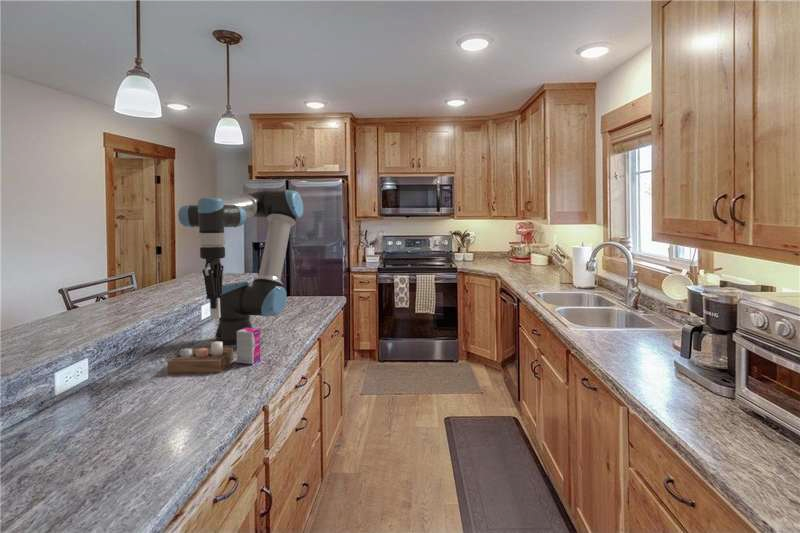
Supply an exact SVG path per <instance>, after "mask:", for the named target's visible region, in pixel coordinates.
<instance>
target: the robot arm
mask: <svg viewBox="0 0 800 533" xmlns="http://www.w3.org/2000/svg"><path fill="white" fill-rule="evenodd" d="M177 215H178V222H179V223H180V224H181V225H182V226H183V227H185V228H187V227H190V228H199V230H198V234H199V235H198V236H197V238H198V240H199V245H200V246H201V247H200V248H199V256H200V257H199V258H200V259H203V260H205V265H204V269H202V274H203V278H204V286H205V292H206V300H207V299H208V300H209V310H210V319H218V324H217V328H216V332H215V335H214V339H215V340H214V342H216V341H221V342H223V345H237V331H239V330H241V329H243V328H254V326H253V325H252V322H251V316H259V317H266V318H268V317H276V316H279V315H280V314H281V313H282V312H283V311H284V309H285V308H286V304H287V302H288V301H287V300H288V297H287V295H288V294H287V290H286V289H285V287H284V283H283V282H282V280H281V278H282V273H283V269H284V264H285V258H286V252H287V249H288V242H289V237H290V233H291V227H293V226H295V225H296V220H297V219H300V218H301V217H302V216H303V215H304V203H303V199H302V197H301V195H300V193H299V192H298V191H297V190H289V189H285V190H283V189H282V190H278V189H277V190H259V191H255V192H251V193H246V194H243V195H240V196H238V197H237V198H231V199H226V200H225V199H224V200H223V199H222V198H219V197H201V198H198V201H197V204H189V205H182V206H181V207H180V208H179V210H178V213H177ZM249 218H264V219H267V221H268V222H269V224H268V230H267V234H266V239H265V244H264V248H263V253H262V254H263V255H262V257H261V264H260V268H259V272H258V276H257V277H255V278H254V279H253V280H252V285H250V283H249V282H248V281H237V282H230V283H226V284H223V280H224V279H223V277H224V276H223V275H224V274H223V272H224V265H222V263H221V259H224V258H226V248H225V244H226V241H225V240H226V238H225V228H237V227H241V226H243V225H244V224H245V223H246V221H247V219H249Z"/></svg>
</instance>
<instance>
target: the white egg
mask: <svg viewBox="0 0 800 533" xmlns="http://www.w3.org/2000/svg"><path fill="white" fill-rule="evenodd" d="M223 345H224V344H223V342H221V341H216V342H215V341H211V343H210V349H211V356H223V348H224V346H223Z"/></svg>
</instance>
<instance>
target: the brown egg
mask: <svg viewBox="0 0 800 533" xmlns="http://www.w3.org/2000/svg"><path fill="white" fill-rule="evenodd" d="M195 349H196V357H205V356H207V355H208V349H209V348H208V347H207V348H206V347H201V348H195Z"/></svg>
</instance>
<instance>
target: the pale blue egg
mask: <svg viewBox="0 0 800 533" xmlns="http://www.w3.org/2000/svg"><path fill="white" fill-rule="evenodd" d="M192 349H193V348H192V347H189V348H182V349H180V352H179V353H180V357H191V356H192Z"/></svg>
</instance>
